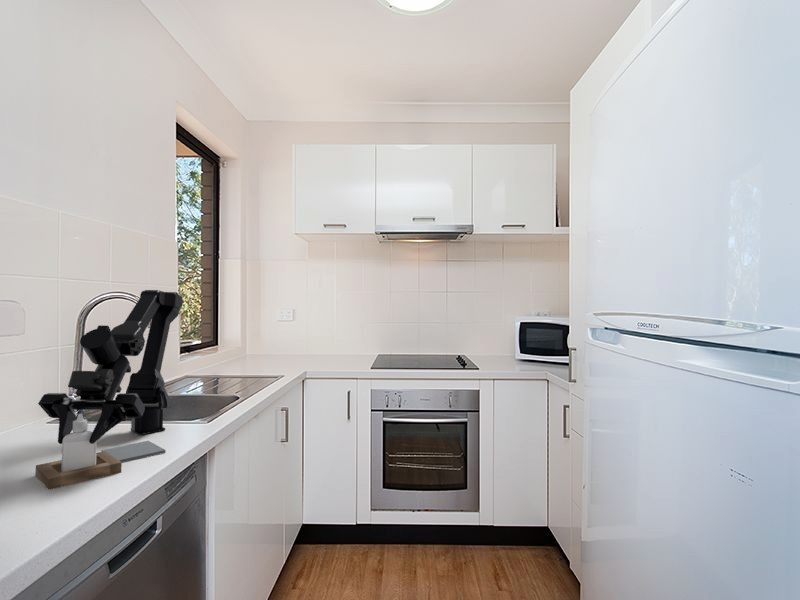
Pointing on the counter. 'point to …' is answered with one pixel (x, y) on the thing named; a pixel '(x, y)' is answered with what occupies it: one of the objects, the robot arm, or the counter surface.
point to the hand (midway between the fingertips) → (75, 442)
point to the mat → (134, 451)
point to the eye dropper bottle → (78, 447)
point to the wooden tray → (77, 471)
